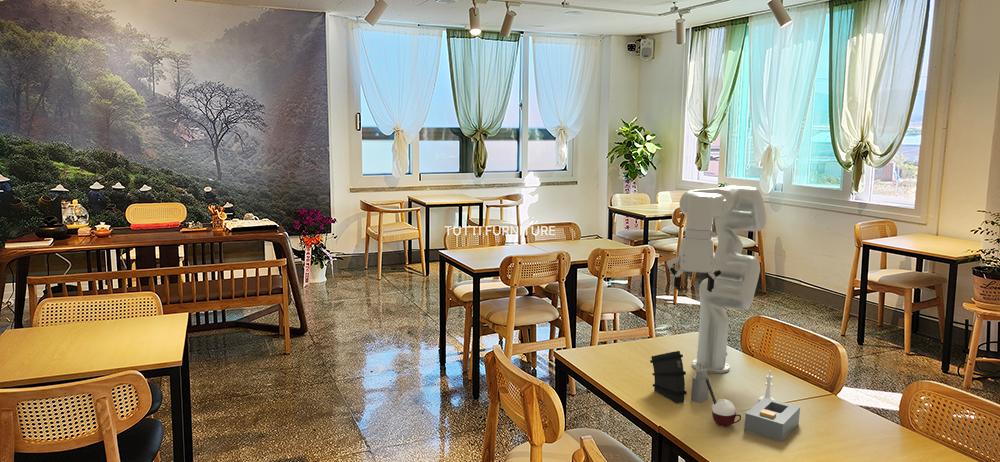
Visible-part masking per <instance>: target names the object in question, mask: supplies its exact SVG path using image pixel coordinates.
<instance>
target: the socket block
mask: <svg viewBox="0 0 1000 462" xmlns="http://www.w3.org/2000/svg"><path fill="white" fill-rule="evenodd" d="M775 400H776V399H775ZM775 400H772V399H768V398H763V399H762V400H761V401H759V400H758V402H757V403H756V404H755V405H754V406H752V407H751V408H750V409H749V410H748V411H746V412H745V413H744V414H745V416H744V427H743V431H744V432H748V433H751V434H754V435H757V436H761V437H764V438H767V439H771V440H774V441H777V442H780V443H782V442H783V441H784V440H786V438H787V437H788V436H789V435H790V434H791V432H793V431H794V429H795V428H796V427H798V425H799V423H800V412H801V407H800V406H799V405H797V406H796V405H794V404H789V403H786V402H782V401H778V400H776V401H775Z"/></svg>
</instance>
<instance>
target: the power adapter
mask: <svg viewBox="0 0 1000 462" xmlns="http://www.w3.org/2000/svg"><path fill="white" fill-rule="evenodd" d="M704 364H705V361H704ZM704 364H703V368H701V363H700V368H699V369H695V371H696V372H695V376H692V380H691V393H690V394H691V395H690V401H692V402H694V403H696V404H701V403H703V402H705V401H709V394H710V391H709V389H708V386H707V383H706V379H707V378H708V379H709V382H710V381H711V380H710V379H711V377H710V376H709V375H708V372H707V368H704ZM710 383H711V382H710Z"/></svg>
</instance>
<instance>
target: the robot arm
mask: <svg viewBox="0 0 1000 462" xmlns="http://www.w3.org/2000/svg"><path fill="white" fill-rule="evenodd" d="M763 198H764V197H763V195H762V193H761V191H760V190H759V189H758V188H757V187H754V186H742V185H741V186H740V185H724V186H722V187H716V188H713V187H711V188H705V189H692V190H686V191H685V192H684V193H683V194H682V195H681V196H680V198H679V199H680V200H679V210H680V212H681V214H683V215H685V216H686V221H685V233H684V237H682V238H681V240H680V241H681V242H680V246H679V251H678V256H677V257H675V258H672V259H669V260H667V261H666V265H667V268H668V269H669V271H670V272H671V273H672V275H673V276H674V278H673V279H674V281H673V287H675V289H676V291H680V290H681V279H682V277H680V276H681V275H682V274H683V273H684V272H686V273H687V272H688V273H699V274H700V273H703V274H704V273H705V274H708V277H707V278H705V279H703V280H702V281H701V282H700V284H699V289H698V295H699V304H700V305H699V307H700V308H699V309H700V312H699V324H698V325H699V326H698V338H697V339H698V340H697V352H696V353H697V354H696V358H695V359H693V360H692V361H691V366H692V367H693V368H694V369H695V370H697V369H699V368H700V363H701V368H703V364H704V361H705V364H704V368H707V373H710V374H725V373H727V372H729V371H730V369H731V366H730V364H729V363H727V362H726V359H727V356H728V352H727V347H728V346H727V345H728V336H729V333H728V332H729V325H730V324H729V322H730V321H729V316H728V314H727V312H726V310H725V309H731V310H737V311H747V310H748V309H750V308H751V306H752V304H753V301H754V296H755V293H756V289H757V286H758V282H759V278H760V272H761V265H760V262H759V259H758V258H757V257H755V256H753V255H750V254H749V255H748V254H747V255H746V254H742V252H743V250H744V249H743V248H744V244H743V242H742V240H741V238H740V236H739V235H738V234H737V233H736V232H735V231H734V230H737V231H746V232H760V231H763V230H764V228H765V226H766V224H767V213H766V207H765V204H764V203H765V202H764V199H763ZM713 219H714V222H715V223H714V225H715V231H713V229H712V227H713ZM713 237H717V244H716V249H715V252H714V241H713V239H712V238H713ZM676 263H677V269H675V268H674V266H673V265H674V264H676Z"/></svg>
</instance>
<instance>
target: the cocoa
mask: <svg viewBox="0 0 1000 462" xmlns="http://www.w3.org/2000/svg"><path fill="white" fill-rule="evenodd" d="M706 383H707V386H708V389H709V394H710V397H711V400H712V402H713V404H712V405H711V415H712V419H713V421H714V422H715V424H717V425H718V426H720V427H729V426H732V425H735V424H737V423H739V422H740V421H741V420H742V415H741V414H739V413H737V412H736V407H735V405H734V403H733V402H732V401H731V400H728V399H726V398H719V399H718V400H717V398H716V396H715V393H714V391H713V388H712V385H711V382H709V379H708V378H707V379H706ZM736 417H739V419H738V420H736Z"/></svg>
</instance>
